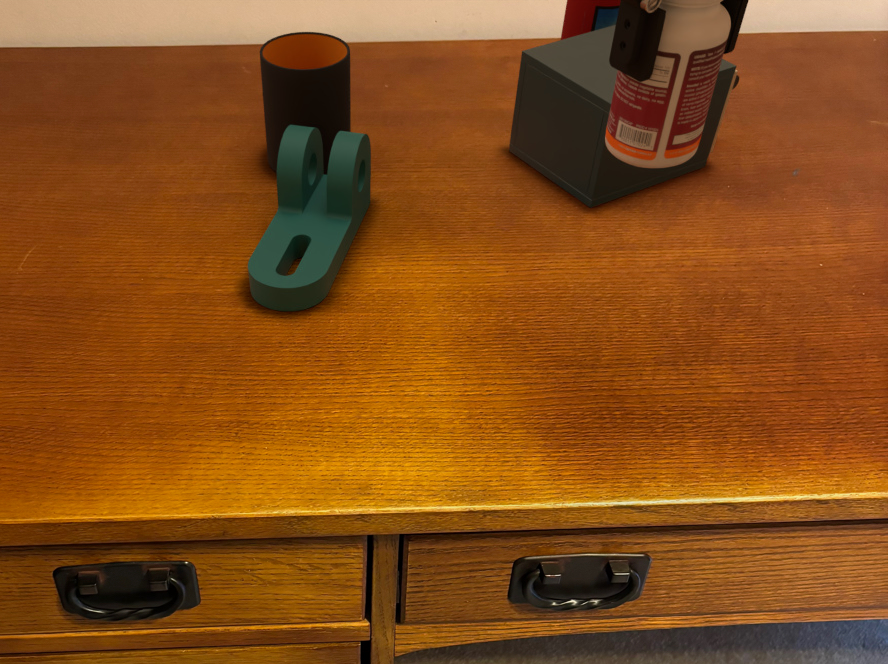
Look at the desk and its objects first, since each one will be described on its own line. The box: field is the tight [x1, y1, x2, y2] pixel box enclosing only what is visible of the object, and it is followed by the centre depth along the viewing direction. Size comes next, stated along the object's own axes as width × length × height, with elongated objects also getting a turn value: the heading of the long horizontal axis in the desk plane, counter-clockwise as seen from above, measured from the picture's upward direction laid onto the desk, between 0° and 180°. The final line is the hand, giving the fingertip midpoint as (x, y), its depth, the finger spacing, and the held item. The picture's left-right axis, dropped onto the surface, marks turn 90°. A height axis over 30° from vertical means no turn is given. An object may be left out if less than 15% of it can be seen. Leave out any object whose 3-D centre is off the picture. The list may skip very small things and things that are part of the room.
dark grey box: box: [508, 25, 737, 209], centre depth 87 cm, size 15×13×10 cm
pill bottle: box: [605, 0, 731, 168], centre depth 58 cm, size 6×6×11 cm
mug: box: [259, 31, 352, 175], centre depth 88 cm, size 8×12×10 cm
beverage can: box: [560, 0, 621, 40], centre depth 97 cm, size 7×7×12 cm
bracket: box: [247, 125, 372, 312], centre depth 78 cm, size 18×7×8 cm, turn 165°
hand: (671, 56), depth 57 cm, fingers closed on pill bottle, 6 cm apart
